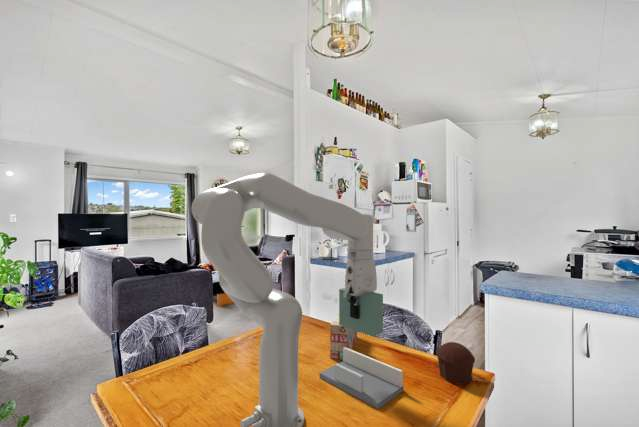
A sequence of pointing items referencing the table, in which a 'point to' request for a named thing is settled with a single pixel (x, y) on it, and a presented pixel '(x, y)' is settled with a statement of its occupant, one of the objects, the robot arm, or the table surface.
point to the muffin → (455, 363)
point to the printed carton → (340, 339)
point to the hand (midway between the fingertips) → (360, 315)
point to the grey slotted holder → (365, 378)
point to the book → (363, 313)
